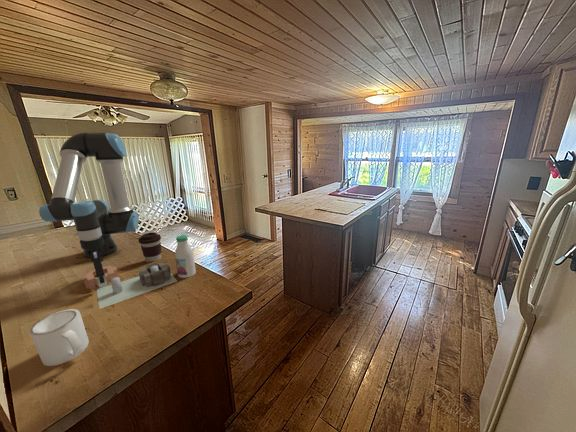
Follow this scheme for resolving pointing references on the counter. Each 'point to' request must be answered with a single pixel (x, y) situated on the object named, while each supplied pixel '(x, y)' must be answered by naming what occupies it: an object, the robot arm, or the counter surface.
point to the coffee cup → (151, 246)
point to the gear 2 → (155, 275)
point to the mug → (60, 337)
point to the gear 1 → (92, 281)
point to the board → (126, 289)
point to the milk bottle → (184, 257)
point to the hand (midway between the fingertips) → (102, 282)
